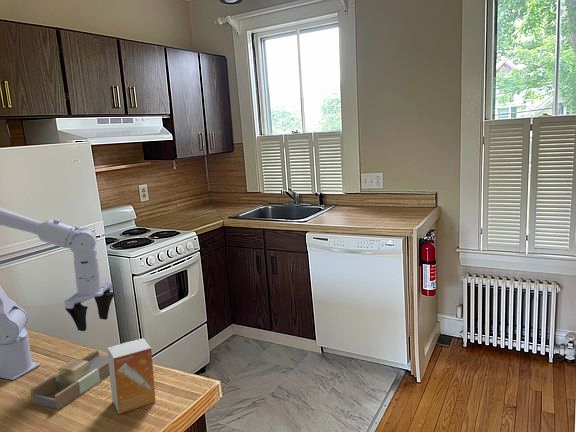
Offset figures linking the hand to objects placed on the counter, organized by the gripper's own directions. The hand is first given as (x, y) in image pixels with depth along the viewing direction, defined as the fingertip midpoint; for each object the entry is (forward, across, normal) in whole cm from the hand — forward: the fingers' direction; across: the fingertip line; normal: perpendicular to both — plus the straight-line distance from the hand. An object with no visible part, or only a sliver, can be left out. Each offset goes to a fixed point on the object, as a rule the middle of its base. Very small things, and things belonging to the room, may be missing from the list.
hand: (93, 324), depth 118 cm
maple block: (+7, -13, -6) cm, 16 cm away
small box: (+10, -14, -24) cm, 29 cm away
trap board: (+9, -12, -6) cm, 16 cm away
